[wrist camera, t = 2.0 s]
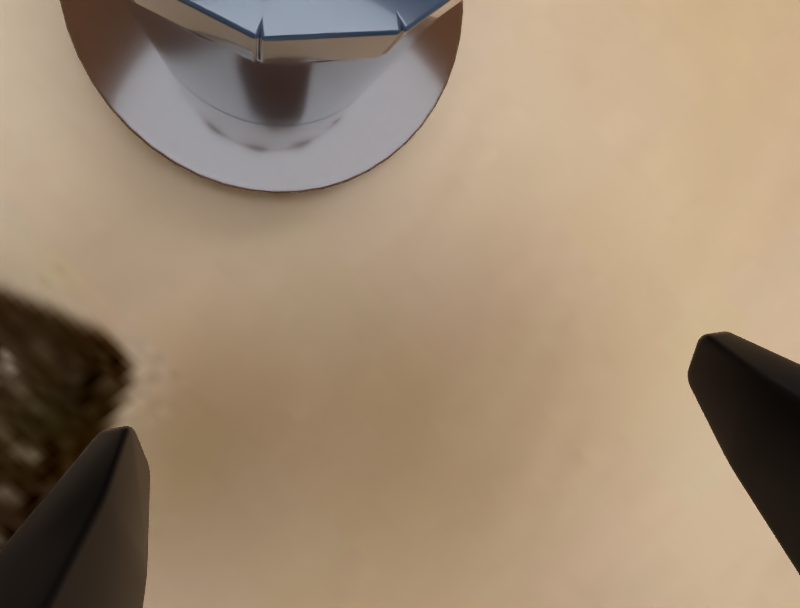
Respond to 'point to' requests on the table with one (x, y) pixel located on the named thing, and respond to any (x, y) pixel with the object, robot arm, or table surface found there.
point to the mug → (269, 81)
